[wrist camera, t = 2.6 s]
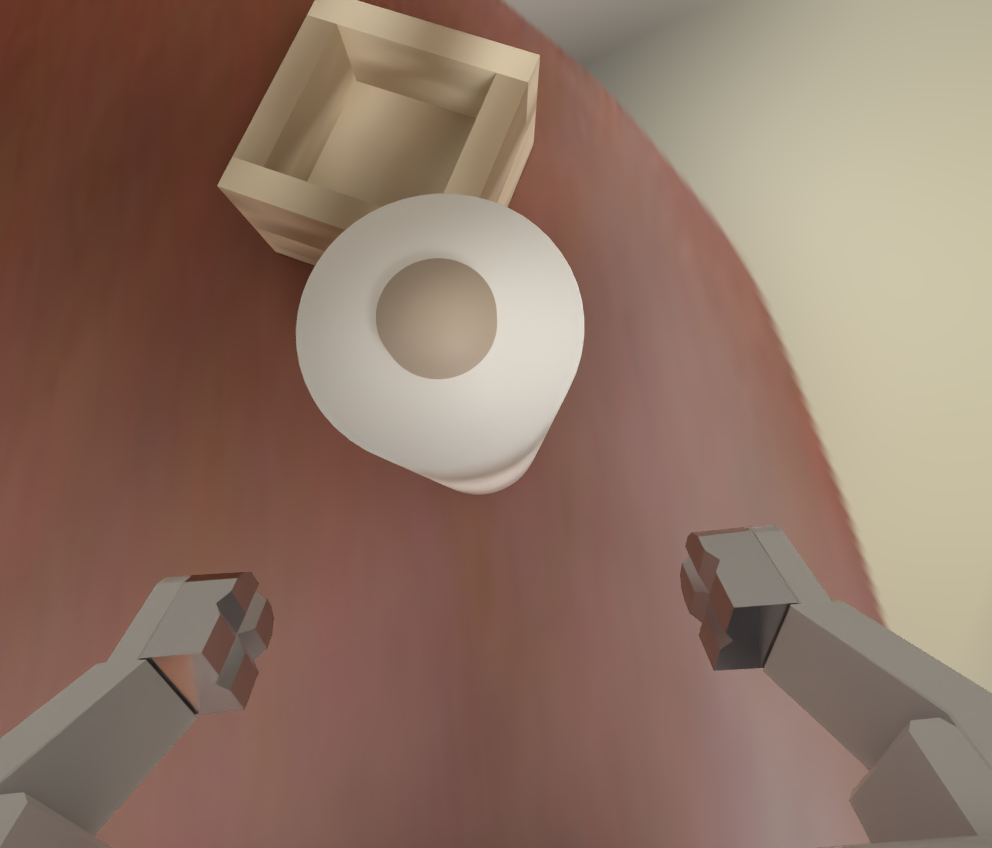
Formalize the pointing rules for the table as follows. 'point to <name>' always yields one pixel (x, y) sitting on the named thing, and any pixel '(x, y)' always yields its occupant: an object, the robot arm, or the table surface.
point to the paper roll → (442, 338)
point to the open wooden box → (379, 124)
